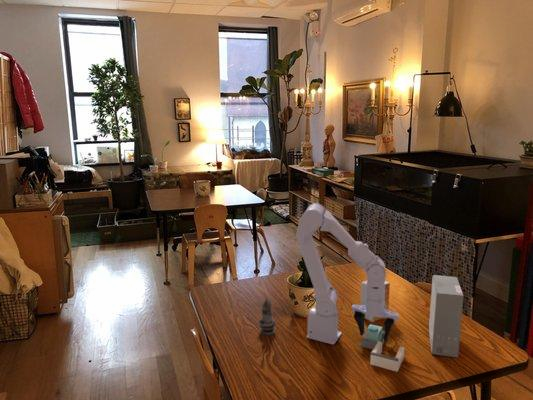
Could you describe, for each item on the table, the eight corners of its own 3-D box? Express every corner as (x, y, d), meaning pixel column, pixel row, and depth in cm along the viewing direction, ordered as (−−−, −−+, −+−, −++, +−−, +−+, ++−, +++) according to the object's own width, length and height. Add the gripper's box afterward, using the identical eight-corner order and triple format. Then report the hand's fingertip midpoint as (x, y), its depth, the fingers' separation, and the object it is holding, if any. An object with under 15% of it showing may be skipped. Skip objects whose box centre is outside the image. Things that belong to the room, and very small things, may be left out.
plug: (377, 347, 133) (378, 331, 132) (365, 344, 135) (365, 328, 134) (381, 339, 138) (382, 324, 137) (369, 336, 140) (370, 322, 138)
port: (377, 350, 131) (378, 339, 131) (403, 357, 128) (404, 345, 127) (370, 364, 124) (370, 352, 124) (397, 371, 121) (398, 359, 120)
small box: (373, 322, 148) (374, 288, 146) (359, 315, 154) (360, 282, 151) (388, 316, 153) (390, 282, 150) (375, 309, 158) (376, 276, 155)
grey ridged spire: (278, 328, 146) (278, 296, 143) (271, 337, 140) (270, 303, 138) (263, 325, 148) (262, 293, 146) (255, 333, 143) (254, 300, 140)
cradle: (379, 351, 131) (379, 345, 131) (359, 346, 134) (359, 340, 134) (386, 337, 139) (387, 331, 138) (368, 332, 142) (368, 327, 141)
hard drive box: (458, 358, 126) (464, 296, 122) (431, 355, 128) (435, 293, 124) (452, 332, 141) (457, 276, 137) (428, 329, 143) (431, 274, 139)
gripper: (401, 296, 133) (399, 336, 136) (356, 288, 140) (355, 326, 143) (396, 305, 127) (394, 346, 130) (349, 296, 134) (348, 335, 137)
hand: (373, 336), depth 136 cm, fingers open, 7 cm apart
